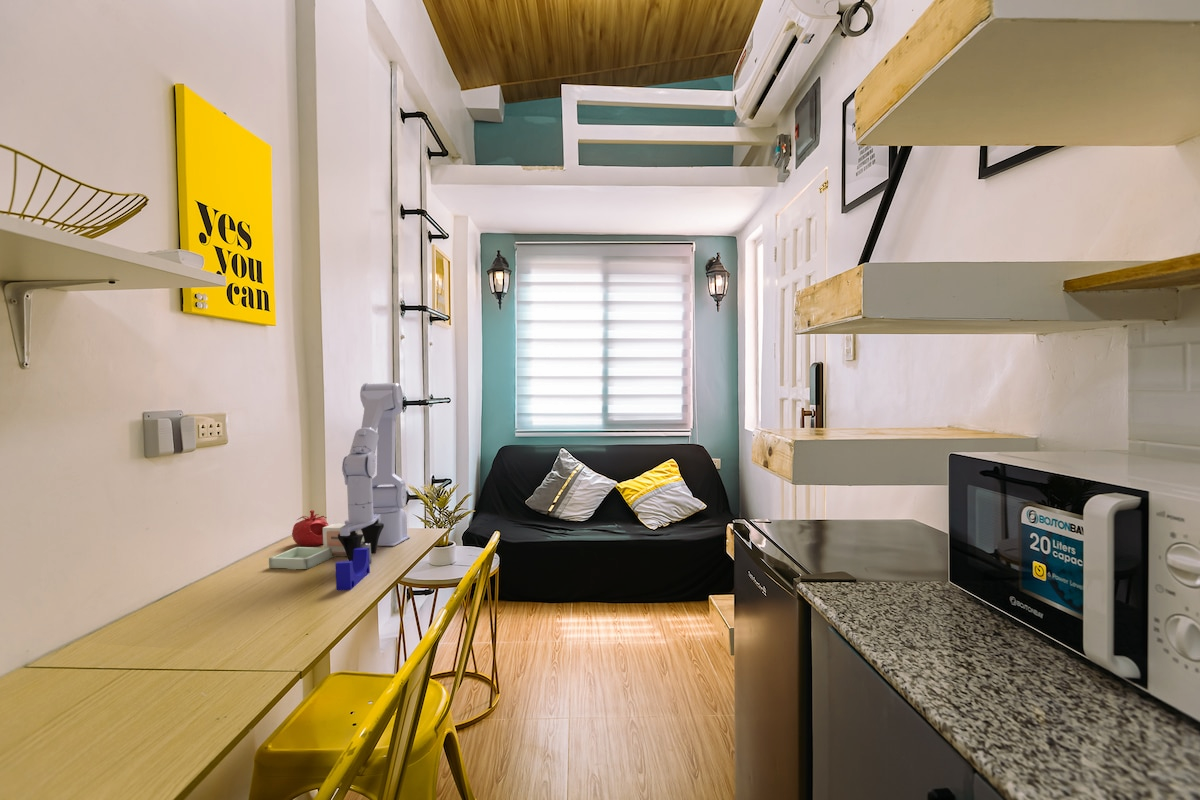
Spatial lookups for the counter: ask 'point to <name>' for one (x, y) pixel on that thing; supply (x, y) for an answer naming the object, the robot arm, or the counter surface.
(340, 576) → the blue cradle block
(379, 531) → the robot arm
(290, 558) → the parts tray
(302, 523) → the pomegranate
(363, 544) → the coupling
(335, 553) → the mounted housing
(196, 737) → the counter surface
